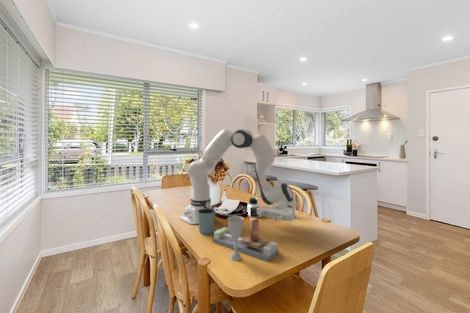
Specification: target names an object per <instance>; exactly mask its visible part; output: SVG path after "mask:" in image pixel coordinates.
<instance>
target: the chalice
mask: <svg viewBox="0 0 470 313" xmlns="http://www.w3.org/2000/svg"><path fill="white" fill-rule="evenodd" d="M226 219H227V221H228V222H227V223H228V224H227V225H228V227H227V228H228V233H230V235H231V237H232V238H233V239H234V249H233V251H232V252H231V254H230V256H229V259H230V261H235V262H237V261H240V260H242V257H241V253H240V252H239V251H237V248H238V247H237V239H239V237H241V234H242V231H243V229H244V228H243V227H244V225H243V224H244V223H243V221H244V220H245V218H244V217H243V216H241V215H230V216H228V217H227V218H226Z"/></svg>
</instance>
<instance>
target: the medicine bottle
mask: <svg viewBox="0 0 470 313" xmlns="http://www.w3.org/2000/svg"><path fill="white" fill-rule="evenodd" d="M259 207H261V206H260V204H259V199H258V198H257V197H250V198H249V203H247V208H246V209H247V212H248V214H247V215H248V217H250V218H260V217H259V215H257V208H259ZM247 212H246V213H247Z"/></svg>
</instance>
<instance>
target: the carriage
mask: <svg viewBox="0 0 470 313" xmlns="http://www.w3.org/2000/svg"><path fill="white" fill-rule="evenodd" d="M249 221H250V222H249V223H250V224H249V226H250V227H249V229H250V230H249V232H250V234H248V235H247V236H245V237H243V239H242V240H241V243H242V244H245V245H248V246H251V247H254V248H257V249H260V248H261V247H263V246H264V245H268V244H269V240H268V239H266V238H265V237H261V236H259V235H260V233H259V232H260V229H259V228H260V219H259V217H250V220H249Z"/></svg>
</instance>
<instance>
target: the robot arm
mask: <svg viewBox="0 0 470 313" xmlns="http://www.w3.org/2000/svg"><path fill="white" fill-rule="evenodd" d="M231 146H233V147H235V148H237V149H245V148H250V149H251V151H252V153H253V155H254V158H255V165H254V172H255V176H256V179H257V183H258V187H259V190H260V197H261V200H262V202H263V203H264V204H265V205H261V206H260V207H259V208H257V215H259V217H258V218H263V217H266V218H272V219H274V220H275V222H276V221H277V222H278V221H285V222H293V221H294V220H295V217H296V209H297V206H298V203H297V201H296V199H295V198H294V193H293V190H292V188H291V187H290V185H288V184H287V183H285V182H282V183H279V184H277V185H274V186H269V185H268V181H267V177H266V171H267V170H268V169H269V168H270V167H271V166H272V165H273V163H274V161H275V160H276V159H275V158H276V156H275V153H274V150H273V148H272V146H271V143H270V142H269V140H268V139H267V136H265V135H264V134H261V133H258V134H257V133H256V134H255V135H253V134H252V132H250V131H249V129H248V130H247V129H244V128H240V129H236V130H235V131H233V132H232V131H231V130H230V129H227V128H223V129H221V130H220V131H219V132H218V133H217V134H216V135H215V136H214V137H213V139H212V140H211V141H210V142H209V143H208V145H207V146H206V147H205V148H204V152H203V153H202V155H201V157H200V158H199V159H198V160H194V161H192V162H191V163H189V165H187V168H186V174H187V176H188V177H189V179H190V183H191V188H192V190H191V191H192V198H190V199H189V202H190V203H189V204H188V206H186V207H185V208H184V209H183V213H182V215H180V216H179V219H180V220H182V221H183V222H185V223H186V224H187V223H188V224H189V225H199V221H198V213H197V211H198V210H200V209H204V208H211V204H212V203H211V202H212V200H211V199H212V198H211V186H210V184H209V182H208V176H209V175H210V174H212V172H213V170H214V169H215V168H216V165H217V164H218V163H219V161H220V160H221V159H222V158H223V156H224V155H225V153H226V152H227V151H228V150H229V148H230V147H231ZM277 202H278V203H277ZM271 205H272V206H271ZM211 209H212V208H211Z"/></svg>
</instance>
